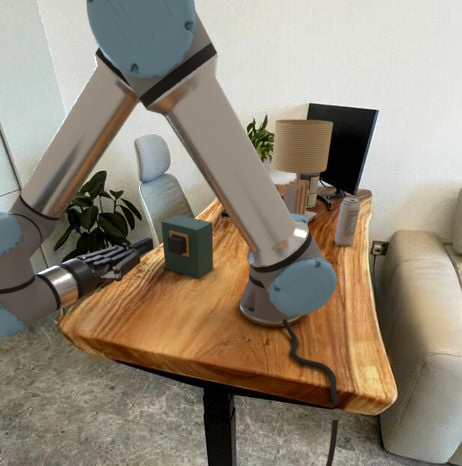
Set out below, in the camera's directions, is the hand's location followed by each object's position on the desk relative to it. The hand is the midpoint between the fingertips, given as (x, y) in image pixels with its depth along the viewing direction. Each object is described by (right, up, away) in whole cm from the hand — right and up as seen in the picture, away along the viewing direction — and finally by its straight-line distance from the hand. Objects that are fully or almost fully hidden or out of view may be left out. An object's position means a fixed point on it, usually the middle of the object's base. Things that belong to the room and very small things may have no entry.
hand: (150, 243), depth 85 cm
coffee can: (+53, +29, +75) cm, 96 cm away
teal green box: (+7, -5, +17) cm, 19 cm away
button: (+6, 0, +11) cm, 12 cm away
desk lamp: (+44, +17, +55) cm, 72 cm away
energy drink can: (+58, +5, +35) cm, 68 cm away
